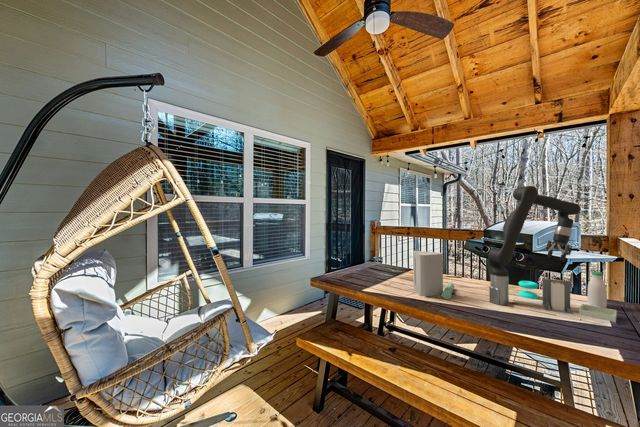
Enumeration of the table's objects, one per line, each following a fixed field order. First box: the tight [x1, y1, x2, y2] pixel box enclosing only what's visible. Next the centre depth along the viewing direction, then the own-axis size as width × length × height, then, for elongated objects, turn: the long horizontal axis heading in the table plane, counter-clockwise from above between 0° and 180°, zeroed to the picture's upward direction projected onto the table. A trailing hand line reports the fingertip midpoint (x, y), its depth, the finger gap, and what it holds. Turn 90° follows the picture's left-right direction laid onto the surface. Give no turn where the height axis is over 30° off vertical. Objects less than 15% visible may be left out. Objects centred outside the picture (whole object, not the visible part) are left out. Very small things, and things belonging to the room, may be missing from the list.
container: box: [441, 282, 455, 300], centre depth 183 cm, size 6×6×25 cm
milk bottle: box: [587, 270, 608, 308], centre depth 154 cm, size 8×8×20 cm
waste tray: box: [578, 303, 618, 324], centre depth 141 cm, size 13×13×4 cm
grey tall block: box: [551, 279, 564, 311], centre depth 150 cm, size 6×5×16 cm
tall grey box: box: [412, 250, 444, 297], centre depth 182 cm, size 19×15×28 cm
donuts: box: [518, 280, 539, 300], centre depth 171 cm, size 10×10×10 cm
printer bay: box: [542, 277, 575, 315], centre depth 150 cm, size 12×12×16 cm
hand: (555, 258), depth 169 cm, fingers open, 8 cm apart
